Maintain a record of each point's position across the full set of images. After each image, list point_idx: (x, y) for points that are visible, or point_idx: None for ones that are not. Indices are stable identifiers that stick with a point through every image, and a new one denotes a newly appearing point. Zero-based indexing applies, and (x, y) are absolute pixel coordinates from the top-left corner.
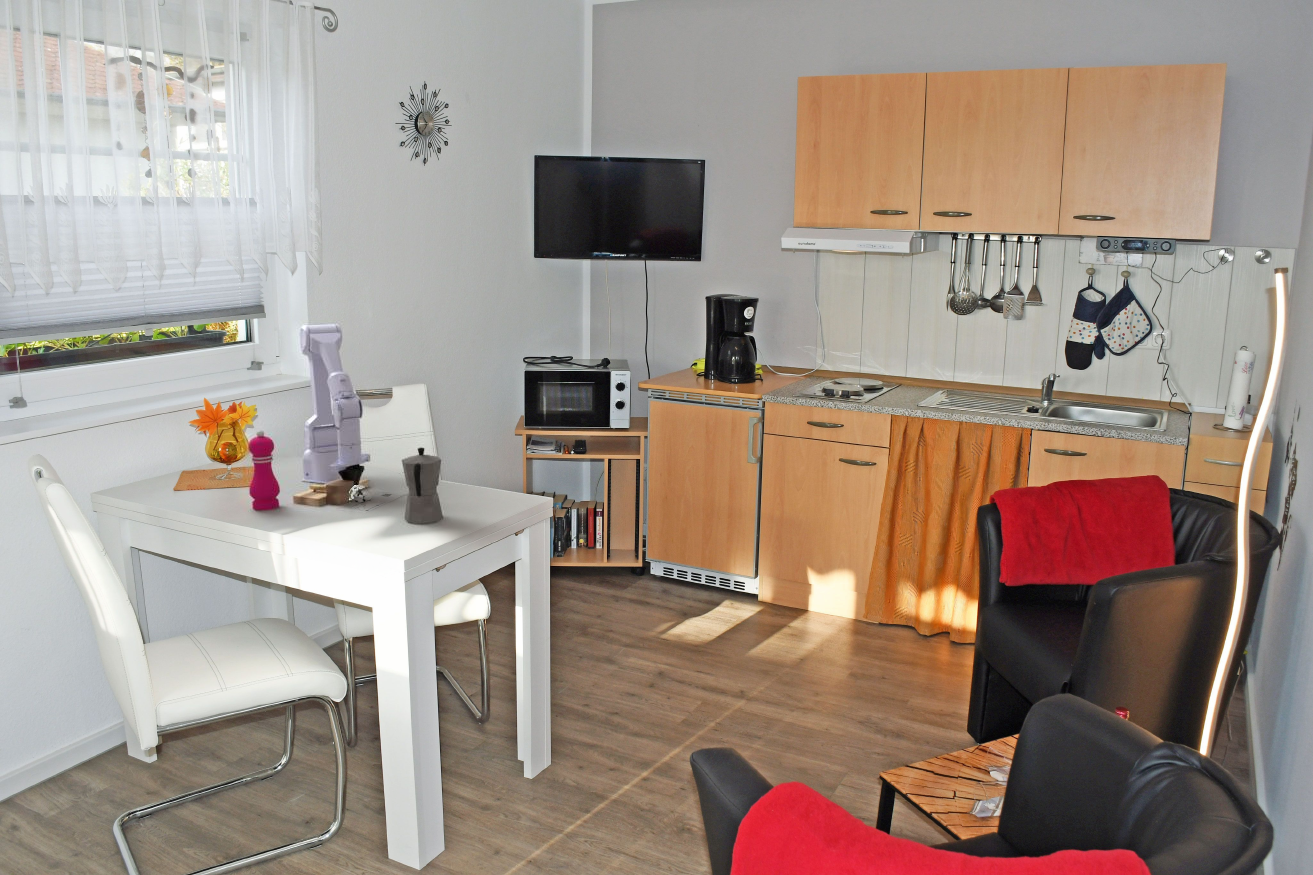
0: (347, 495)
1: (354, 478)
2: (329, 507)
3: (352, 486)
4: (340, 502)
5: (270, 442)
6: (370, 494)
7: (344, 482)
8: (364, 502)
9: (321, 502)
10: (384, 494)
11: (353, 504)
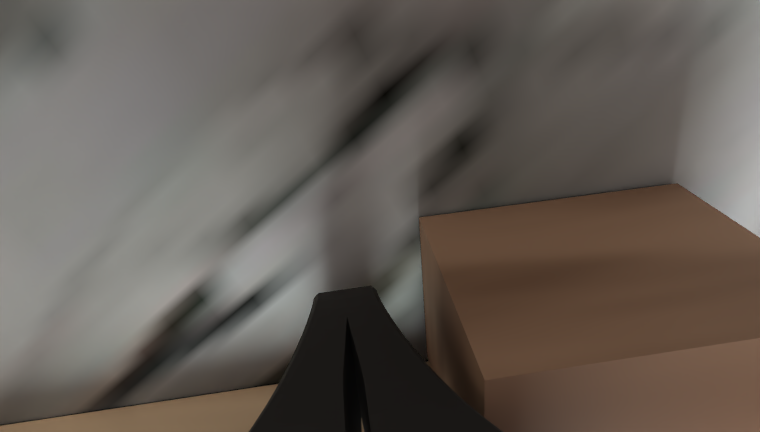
0: (574, 239)
1: (448, 418)
2: (751, 223)
3: (490, 313)
4: (683, 196)
5: None
6: (138, 221)
7: (632, 409)
8: (466, 25)
9: None
10: (3, 62)
11: (589, 86)
